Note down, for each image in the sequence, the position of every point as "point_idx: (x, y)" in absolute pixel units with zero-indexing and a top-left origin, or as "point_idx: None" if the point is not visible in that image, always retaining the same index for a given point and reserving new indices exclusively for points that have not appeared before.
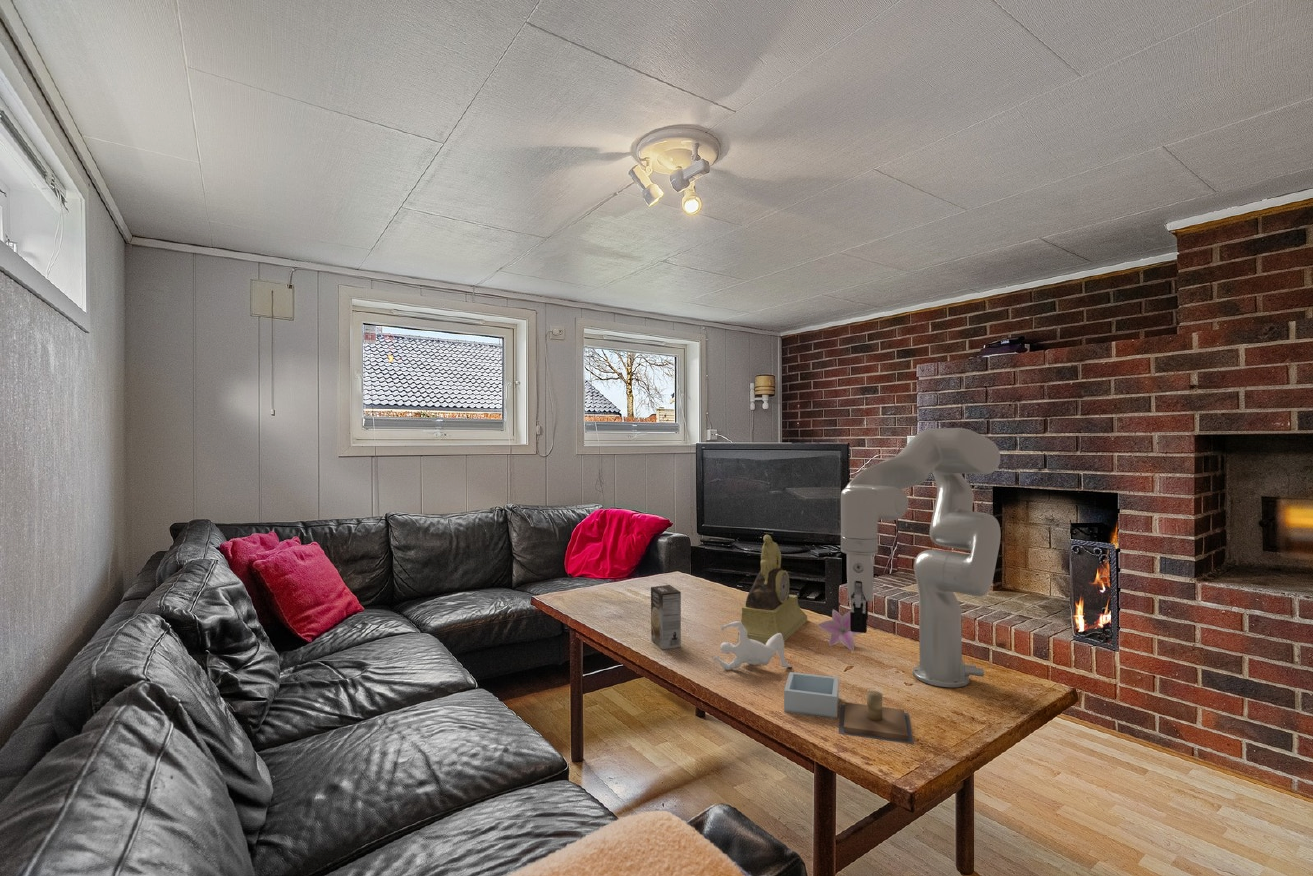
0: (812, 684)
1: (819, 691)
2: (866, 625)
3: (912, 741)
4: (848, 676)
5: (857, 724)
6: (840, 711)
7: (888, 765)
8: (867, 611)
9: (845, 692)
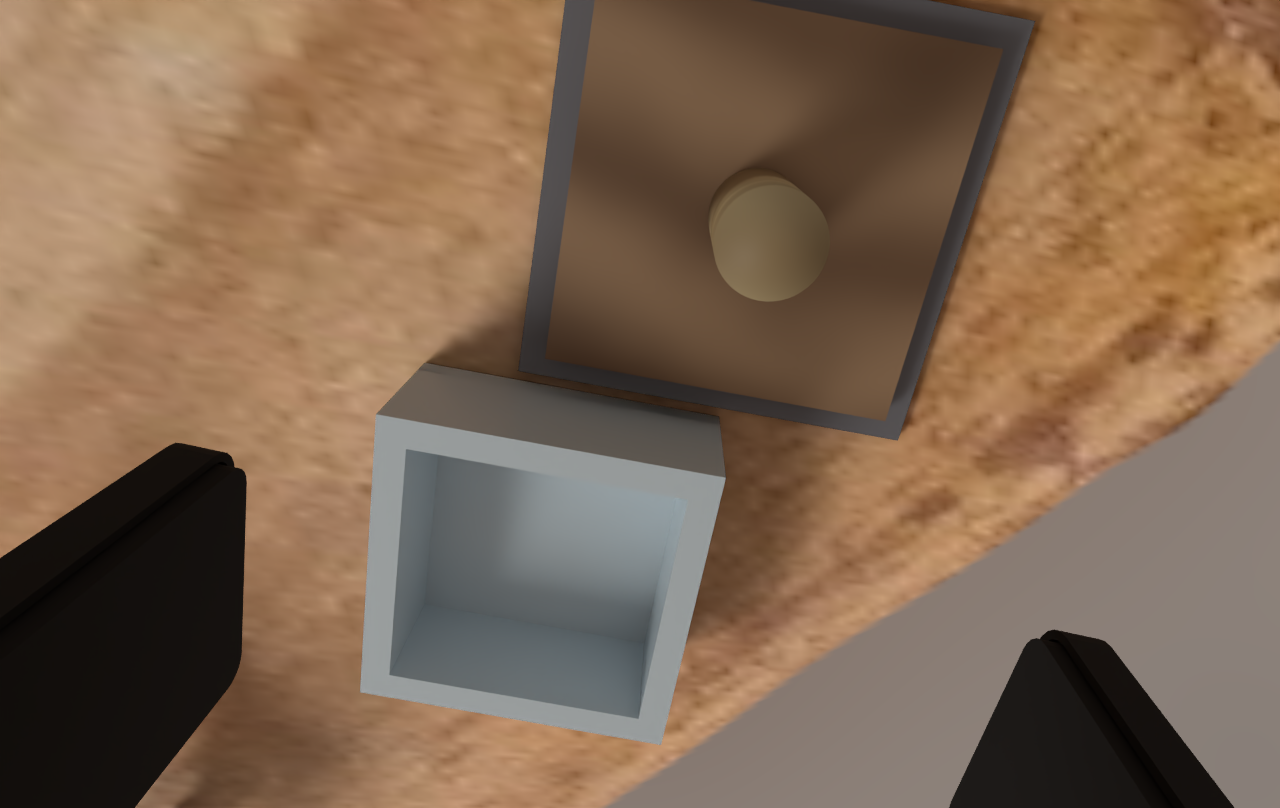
0: (413, 545)
1: (430, 489)
2: (1171, 732)
3: (1000, 21)
4: (15, 239)
5: (851, 340)
6: (620, 387)
7: (1235, 236)
8: (113, 535)
9: (301, 304)
